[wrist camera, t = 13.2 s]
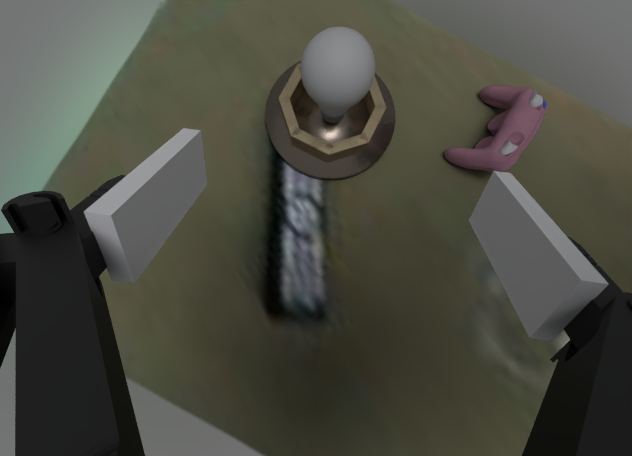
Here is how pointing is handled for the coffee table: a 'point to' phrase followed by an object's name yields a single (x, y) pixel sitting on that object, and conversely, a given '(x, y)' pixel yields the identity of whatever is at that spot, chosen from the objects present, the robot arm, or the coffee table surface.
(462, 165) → the video game controller
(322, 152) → the socket
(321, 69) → the lightbulb
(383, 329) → the coffee table surface
